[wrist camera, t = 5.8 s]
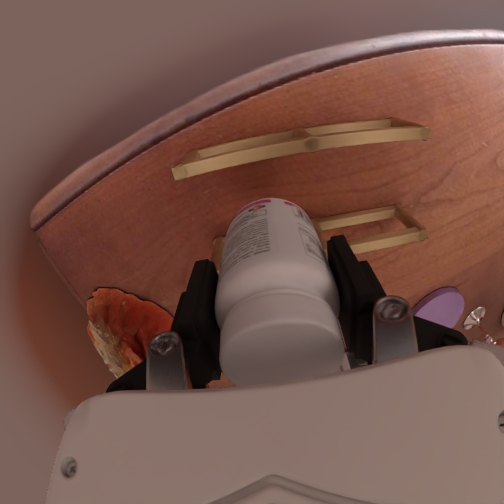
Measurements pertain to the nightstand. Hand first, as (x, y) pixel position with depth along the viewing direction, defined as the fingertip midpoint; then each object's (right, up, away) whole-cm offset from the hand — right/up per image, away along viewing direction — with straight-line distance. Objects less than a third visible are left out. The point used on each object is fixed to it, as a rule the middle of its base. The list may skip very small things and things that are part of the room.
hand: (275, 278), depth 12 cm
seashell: (-8, -9, +13) cm, 18 cm away
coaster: (+22, -7, +17) cm, 29 cm away
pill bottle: (0, +2, +3) cm, 4 cm away
